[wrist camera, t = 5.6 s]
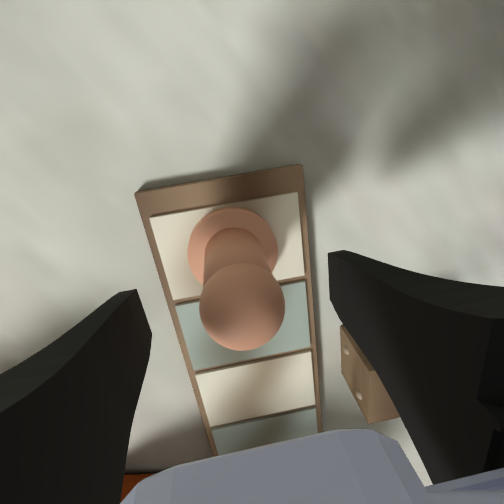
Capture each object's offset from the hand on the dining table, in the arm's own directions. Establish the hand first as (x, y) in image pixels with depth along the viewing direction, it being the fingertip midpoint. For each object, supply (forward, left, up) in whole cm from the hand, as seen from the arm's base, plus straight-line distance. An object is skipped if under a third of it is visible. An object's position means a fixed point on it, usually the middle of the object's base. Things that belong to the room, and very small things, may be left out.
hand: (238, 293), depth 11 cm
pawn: (0, 0, -5) cm, 5 cm away
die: (-8, +9, -5) cm, 13 cm away
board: (0, +8, -5) cm, 9 cm away
